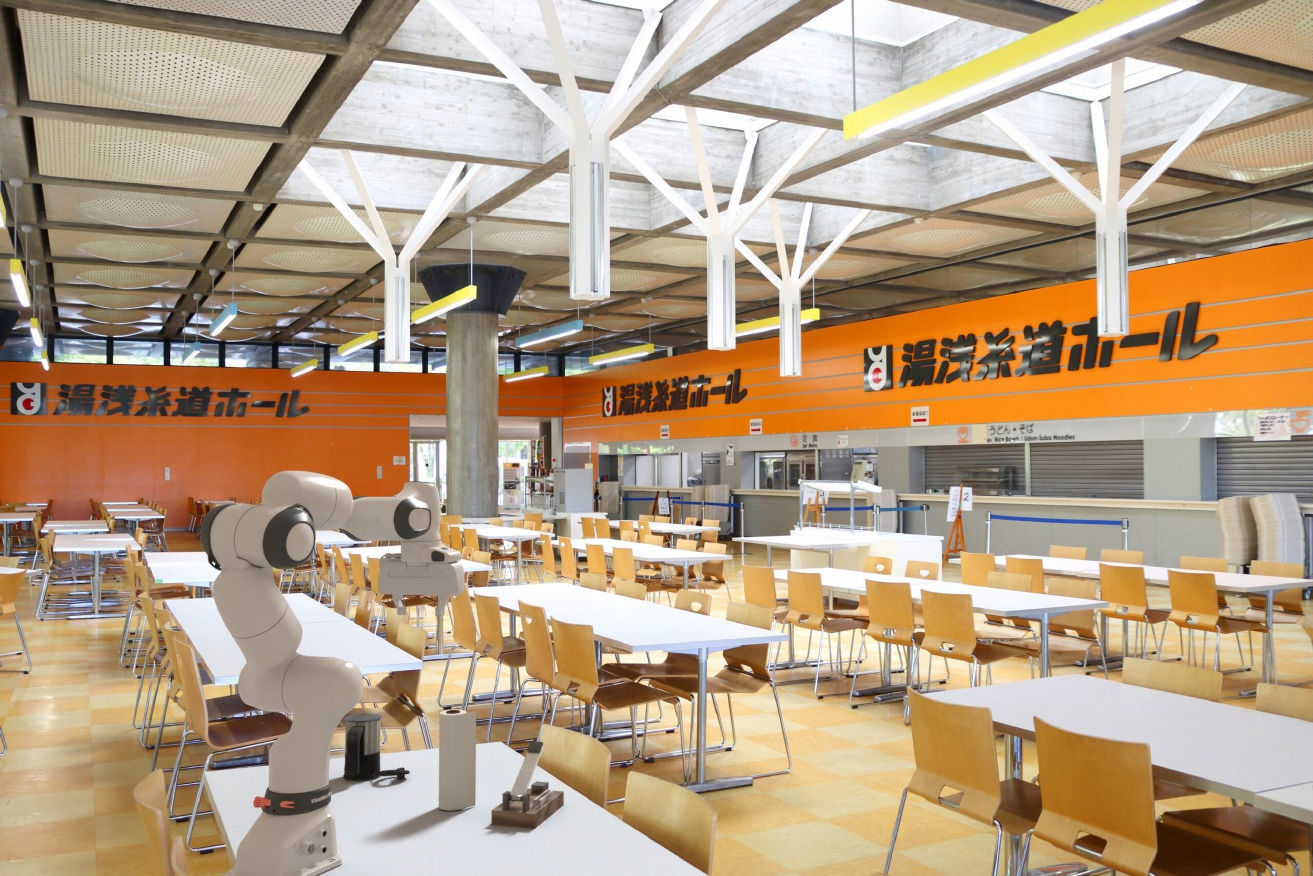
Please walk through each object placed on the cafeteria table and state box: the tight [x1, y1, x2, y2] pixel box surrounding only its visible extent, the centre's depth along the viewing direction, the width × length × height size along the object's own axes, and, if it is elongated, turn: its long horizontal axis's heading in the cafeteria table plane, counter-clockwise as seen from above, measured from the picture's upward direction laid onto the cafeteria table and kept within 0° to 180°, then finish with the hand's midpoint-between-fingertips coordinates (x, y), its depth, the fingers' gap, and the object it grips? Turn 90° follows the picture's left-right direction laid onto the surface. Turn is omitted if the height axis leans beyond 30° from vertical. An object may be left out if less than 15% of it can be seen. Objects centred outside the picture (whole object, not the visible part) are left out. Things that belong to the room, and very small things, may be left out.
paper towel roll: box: [438, 709, 477, 812], centre depth 229 cm, size 7×6×21 cm
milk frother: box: [342, 713, 410, 782], centre depth 253 cm, size 14×16×15 cm
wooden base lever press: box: [490, 780, 565, 829], centre depth 224 cm, size 17×10×6 cm, turn 164°
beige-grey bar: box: [508, 740, 546, 802], centre depth 223 cm, size 16×3×2 cm
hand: (420, 615), depth 228 cm, fingers open, 8 cm apart
